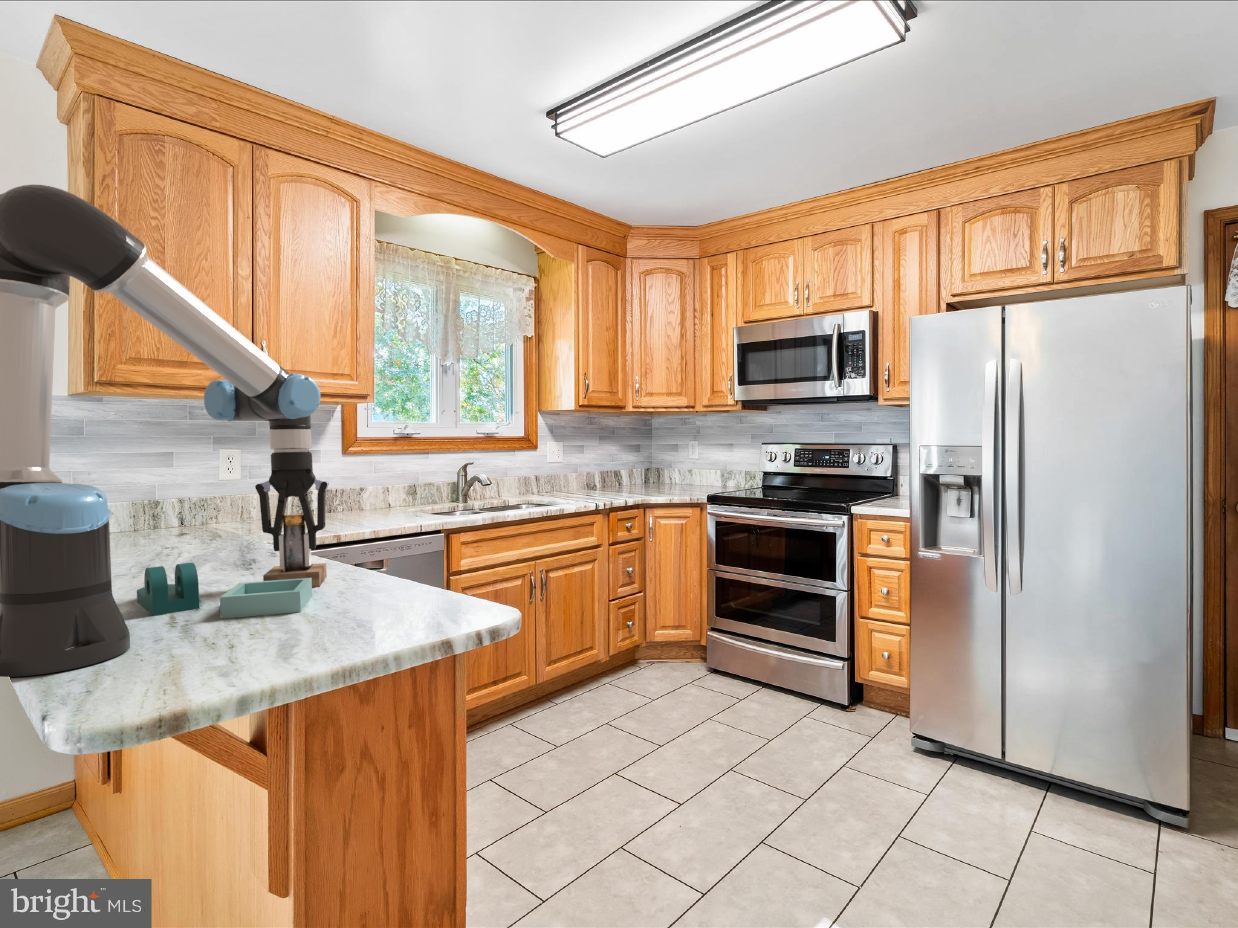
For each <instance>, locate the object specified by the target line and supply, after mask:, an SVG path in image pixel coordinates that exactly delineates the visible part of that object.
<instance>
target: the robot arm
mask: <svg viewBox="0 0 1238 928" xmlns="http://www.w3.org/2000/svg"><path fill="white" fill-rule="evenodd" d="M146 245H147V244H145V243H143V242H142V241H141V240H140V239H139V238H138V237H137V236H135V235H134V234H133V233H131V231H129V230H128V229H127V228H126V227H124V226H123V225H122V224H121V223H119V222H118V221H117V220H115V219H114V218H113V217H111V216H110V215H108V214H107V213H105V212H104V211H103V210H101V209H100V208H98V207H97V206H95V205H94V204H92V203H90V202H89V201H87V200H85V199H83V198H81V197H79V196H77V195H75V194H74V193H72V192H69V191H67V190H64V189H62V188H58V187H54V186H52V185H46V184H24V185H19V186H16V187H13V188H11V189H8V190H6V192H3V193H0V677H3V678H4V677H5V678H6V677H7V678H13V677H16V678H17V677H27V676H37V675H39V676H40V675H45V674H52V673H57V672H58V673H59V672H63V671H64V672H65V671H69V670H73V669H77V668H78V669H79V668H81V667H87V666H90V665H94V664H97V663H101V662H104V661H107V660H110V659H113V658H116V657H118V656H121V655H122V654H124V653H126V652H127V651H128V650H130V649H131V635H130V629H129V627H128V625H127V624H126V621H125V619H124V617H123V614H122V612H121V611H120V608H119V606H118V604H117V602H116V600H115V598H114V596H113V595H114V594H113V587H112V585H113V584H112V564H111V563H112V562H111V557H112V556H111V538H110V537H111V534H110V518H111V514H110V513H111V511H110V508H109V506H108V500H107V495H106V493H105V492H104V490H102V489H100V488H99V487H97V486H93V485H88V484H81V483H65V482H63V479H62V478H61V477H59V476H58V475H57V474H56V473H54V471H52V470H51V468H50V461H51V460H50V455H51V454H50V453H51V434H52V433H51V432H52V429H51V428H52V427H51V426H52V407H53V406H52V404H53V401H52V400H53V379H54V377H53V376H54V375H53V374H54V354H55V353H54V352H55V333H56V331H55V329H56V327H55V326H56V310H57V308H58V307H61V305H63V304H65V303H67V302H68V301H69V300H70V299H69V298H70V289H71V287H70V286H71V285H70V284H71V277H72V278H74V279H76V280H78V281H79V282H81V283H83V284H84V285H85V286H87V287H88V288H90V289H91V290H92V291H94V292H95V293H109V294H110V295H111V296H113V297H114V298H116V299H117V300H118V301H119V302H120V303H122V304H124V305H125V306H126V307H127V308H129V309H131V310H132V311H133V312H134V313H136V314H137V315H138V316H139V317H141V318H142V319H143V320H145V321H147V322H148V323H149V324H151V325H152V326H153V327H155V328H156V329H157V330H159V331H160V332H161V333H162V334H164V335H165V336H167V337H168V338H169V339H171V340H172V341H174V342H175V343H176V344H177V345H179V346H180V347H182V348H183V349H184V350H185V351H187V352H188V353H190V354H191V355H192V356H193V357H195V358H196V359H198V360H199V361H200V362H201V363H202V364H205V365H206V366H207V367H209V368H210V369H211V370H213V371H214V372H215V373H216V374H218V375H219V376H220V377H222V378H223V379H213V380H212V381H211V382H209V383H208V385H207V386H206V388H205V389H204V390H205V391H204V394H203V401H204V402H203V404H204V409H205V411H206V413H207V414H208V416H209V417H210V418H212V419H213V420H216V421H225V422H226V421H227V422H236V421H237V422H262V421H263V422H269V424H268V425H269V443H270V445H269V448H270V450H273V452H272V453H271V454H270V466H271V467H270V468H271V469H270V471H271V472H270V476H269V479H268V480H266V481H264V482H261V483H257V484H256V485H254V486H255V491H256V492H257V494H258V496H259V507H260V519H261V528H262V529H261V531H262V532H263V533H264V534H270V535H271V536H272V541H273V542H272V543H273V550H274V552H279V566H280V568H285V554H284V533H283V516H284V515H286V514H285V513H286V510H287V509H286V508H287V503H288V500H289V498H291V497H295V498H298V501H299V503H300V506H301V507H300V508H301V511H302V514H303V515H304V519H305V527H306V530H307V532H306V534H304V548H305V567H306V566H310V565H311V564H312V550H315V549H316V547H317V532H319V531H322V530H324V529H325V528H326V502H327V501H326V492H327V490H328V489H329V485H330V483H329V482H328V481H327V480H324V481H323V480H321V479H318V478H316V475H315V474H314V470H313V453H312V451H310V449H312V448H313V444H312V443H313V442H312V427H311V425H312V422H311V419H312V418H311V416H312V415H313V414H314V413H315V412H316V411H317V410H318V408H319V406H320V404H321V395H322V394H321V390H320V388H319V386H318V383H316V382H315V381H314V380H313V379H312V378H311V377H309V376H306V375H304V374H301V373H290V372H288V371H287V370H286V369H285V368H284V367H283V366H281V365H280V364H278V363H277V362H276V361H275V360H274V359H272V358H271V357H270V356H269V355H268V354H266V353H265V352H264V351H263V350H261V349H260V347H258V346H257V345H255V344H254V343H253V341H252V340H250V339H248V338H247V337H246V336H244V335H243V333H241V332H240V331H239V330H237V329H236V328H235V327H234V326H233V325H231V324H230V323H229V322H228V321H227V320H226V319H225V318H223V317H222V316H221V315H220V314H218V313H217V312H216V311H215V310H213V309H212V307H210V306H208V304H207V303H205V302H204V301H202V300H201V299H200V298H199V297H198V296H196V295H195V294H194V293H193V292H191V291H190V289H188V288H187V287H185V286H184V285H183V284H182V283H181V282H180V281H178V280H177V279H176V278H175V277H173V276H172V275H171V274H170V273H169V272H167V271H166V270H165V269H163V268H162V267H161V266H160V265H159V264H157V262H156V261H154V260H153V259H152V258H150V257H149V256H148V252H147V251H148V250H147V246H146ZM313 485H315V489H316V491H317V501H316V502H317V510H316V511H317V512H316V513H317V516H316V517H317V518H316V520H317V521H316V522H317V523H315V520H314V515H313V512H312V507H311V505H310V500H309V496H308V493H309V491H310V489H311V488H312V486H313ZM271 486H272V488H273V489H274V491H276V493H278V498H277V506H276V511H275V515H274V516H275V517H274V521H273V526H272V518H271V517H272V516H271V515H272V514H271V507H270V506H271V505H270V495H269V493H270V490H271Z"/></svg>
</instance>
